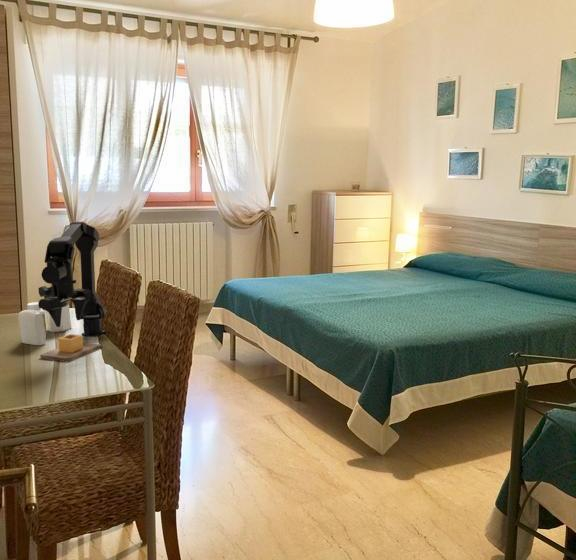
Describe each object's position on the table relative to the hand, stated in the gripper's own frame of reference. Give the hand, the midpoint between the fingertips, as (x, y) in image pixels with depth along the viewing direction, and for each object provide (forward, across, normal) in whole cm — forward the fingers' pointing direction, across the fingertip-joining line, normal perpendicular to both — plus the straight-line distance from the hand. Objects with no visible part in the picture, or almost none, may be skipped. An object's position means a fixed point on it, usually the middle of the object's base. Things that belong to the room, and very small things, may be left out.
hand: (68, 323), depth 204 cm
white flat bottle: (+11, -5, -22) cm, 25 cm away
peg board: (+10, 0, 0) cm, 10 cm away
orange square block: (+9, 0, 0) cm, 9 cm away
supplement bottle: (+10, -11, -27) cm, 31 cm away
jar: (+10, -22, -27) cm, 37 cm away
